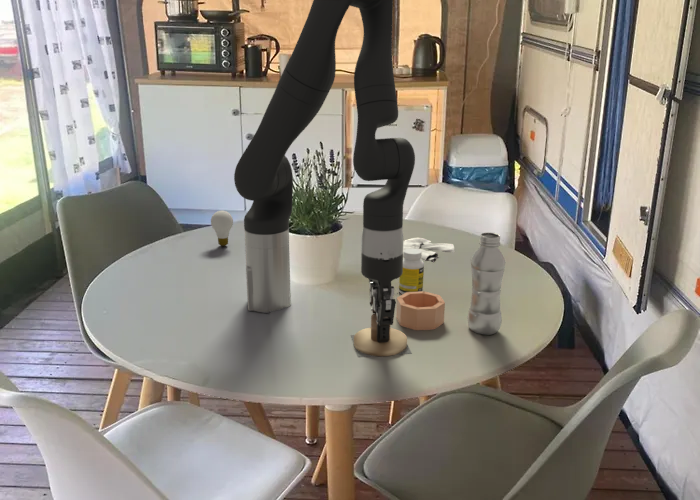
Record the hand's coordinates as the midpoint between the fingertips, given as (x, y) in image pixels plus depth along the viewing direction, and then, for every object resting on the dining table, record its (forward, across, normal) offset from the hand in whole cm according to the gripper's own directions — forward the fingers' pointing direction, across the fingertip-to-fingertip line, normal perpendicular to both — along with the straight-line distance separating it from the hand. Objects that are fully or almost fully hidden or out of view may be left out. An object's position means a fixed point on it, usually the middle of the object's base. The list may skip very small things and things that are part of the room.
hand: (380, 336), depth 128 cm
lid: (+2, 0, 0) cm, 2 cm away
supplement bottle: (+2, -26, +12) cm, 29 cm away
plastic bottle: (+2, -4, +22) cm, 22 cm away
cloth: (+3, -53, +23) cm, 58 cm away
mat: (+2, 0, 0) cm, 2 cm away
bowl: (+2, -10, +10) cm, 14 cm away
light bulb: (+2, -65, -31) cm, 72 cm away
